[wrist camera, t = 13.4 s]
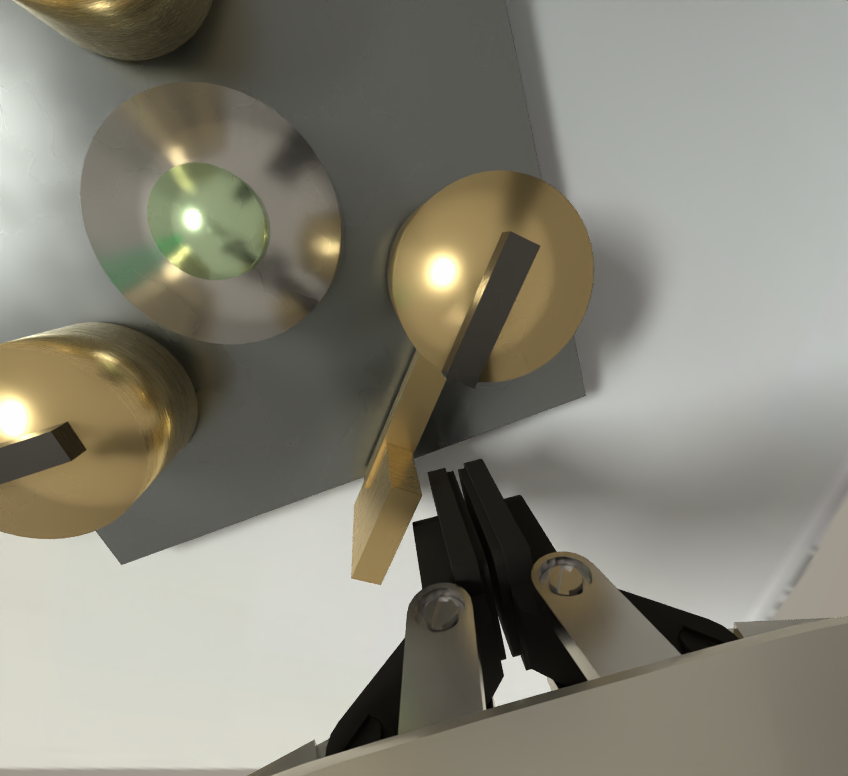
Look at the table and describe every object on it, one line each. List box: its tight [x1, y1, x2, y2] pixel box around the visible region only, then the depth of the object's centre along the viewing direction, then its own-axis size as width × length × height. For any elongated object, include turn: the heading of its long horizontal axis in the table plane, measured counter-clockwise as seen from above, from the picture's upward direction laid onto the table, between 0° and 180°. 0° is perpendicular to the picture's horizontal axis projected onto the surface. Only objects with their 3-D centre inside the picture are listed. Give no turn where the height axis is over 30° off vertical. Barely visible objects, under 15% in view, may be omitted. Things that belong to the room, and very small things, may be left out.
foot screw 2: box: [351, 170, 594, 585], centre depth 11 cm, size 10×4×4 cm, turn 157°
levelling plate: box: [0, 0, 586, 565], centre depth 10 cm, size 16×16×4 cm
